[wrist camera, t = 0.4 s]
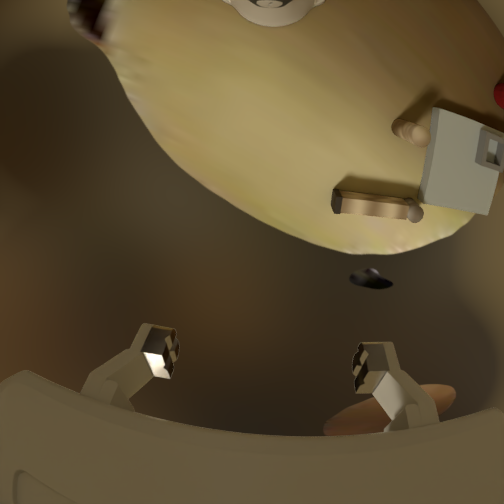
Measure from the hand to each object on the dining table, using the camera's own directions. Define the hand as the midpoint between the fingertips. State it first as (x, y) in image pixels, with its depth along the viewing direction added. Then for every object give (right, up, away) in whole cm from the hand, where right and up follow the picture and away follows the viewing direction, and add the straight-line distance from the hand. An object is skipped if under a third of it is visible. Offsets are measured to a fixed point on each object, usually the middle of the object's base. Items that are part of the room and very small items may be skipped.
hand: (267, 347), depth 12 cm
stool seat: (+44, +23, +34) cm, 61 cm away
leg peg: (+28, +28, +33) cm, 51 cm away
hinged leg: (+25, +14, +42) cm, 50 cm away
